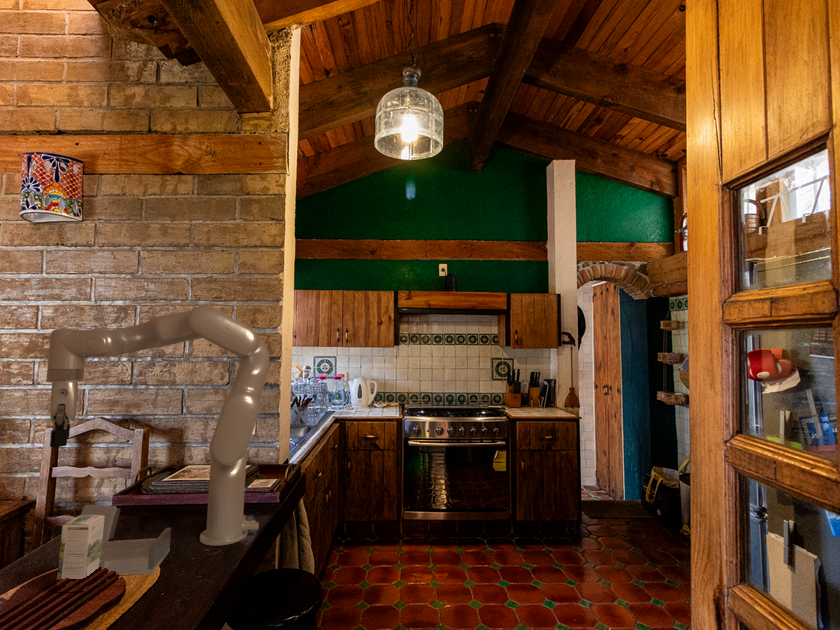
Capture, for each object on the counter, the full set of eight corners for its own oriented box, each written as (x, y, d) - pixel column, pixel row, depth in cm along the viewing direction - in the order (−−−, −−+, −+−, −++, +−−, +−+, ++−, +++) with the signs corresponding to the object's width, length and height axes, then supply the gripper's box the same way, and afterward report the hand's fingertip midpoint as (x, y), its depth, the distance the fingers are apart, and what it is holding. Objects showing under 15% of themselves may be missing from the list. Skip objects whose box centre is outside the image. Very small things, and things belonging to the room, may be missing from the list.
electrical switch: (72, 542, 119) (78, 506, 121) (87, 536, 124) (93, 502, 126) (105, 544, 119) (110, 508, 120) (119, 538, 124) (124, 503, 125)
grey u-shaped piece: (169, 550, 116) (171, 527, 116) (152, 573, 104) (154, 547, 104) (92, 556, 112) (94, 531, 112) (65, 580, 100) (67, 553, 101)
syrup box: (72, 580, 100) (77, 514, 102) (100, 579, 101) (105, 514, 102) (54, 593, 95) (60, 524, 96) (84, 592, 95) (90, 523, 97)
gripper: (82, 377, 110) (76, 447, 108) (84, 374, 124) (79, 435, 122) (43, 378, 105) (36, 451, 104) (49, 374, 119) (44, 438, 118)
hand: (59, 442), depth 113 cm, fingers open, 9 cm apart
